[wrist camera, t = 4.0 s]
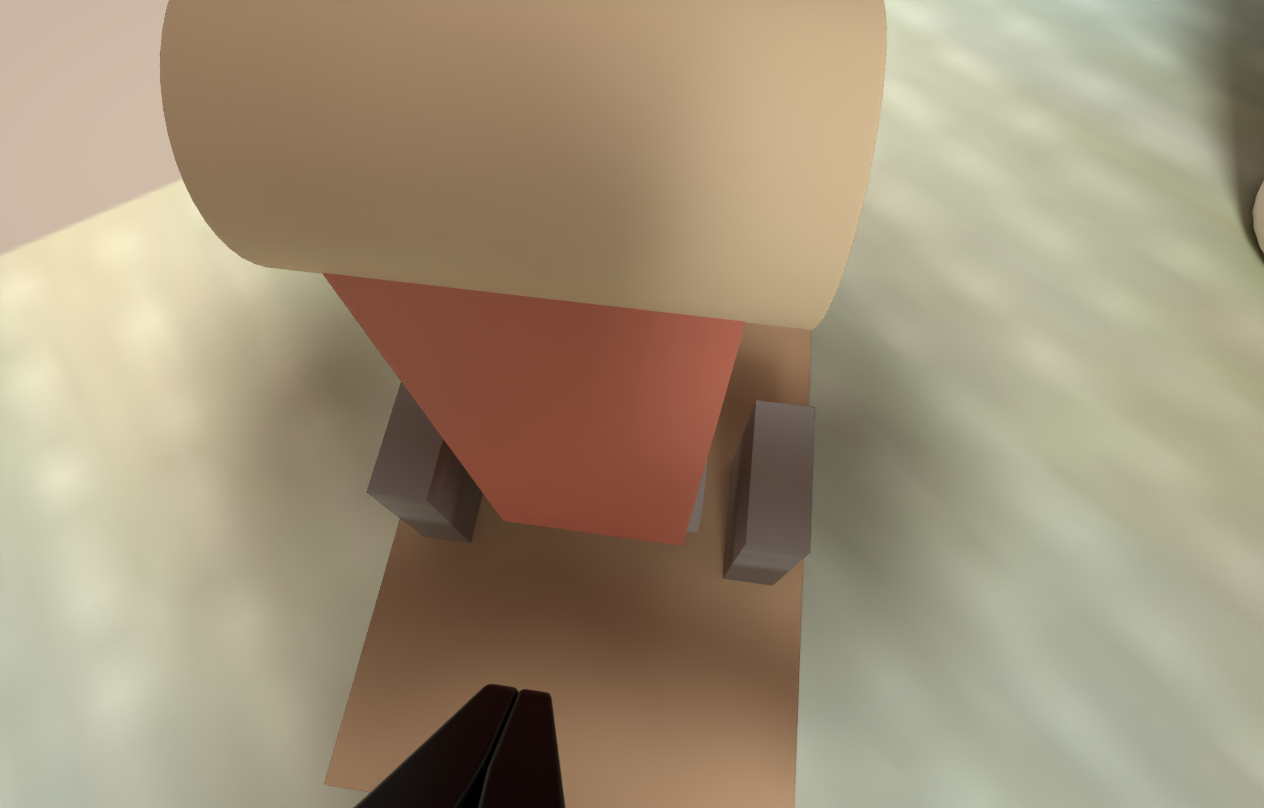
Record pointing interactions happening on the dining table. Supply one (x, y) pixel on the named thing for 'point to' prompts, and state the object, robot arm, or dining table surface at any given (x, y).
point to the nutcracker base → (605, 612)
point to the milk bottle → (1259, 216)
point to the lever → (543, 209)
